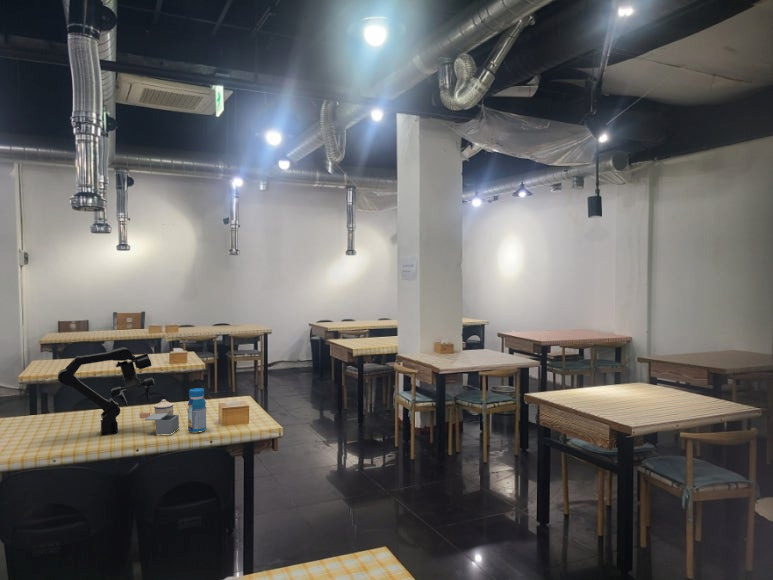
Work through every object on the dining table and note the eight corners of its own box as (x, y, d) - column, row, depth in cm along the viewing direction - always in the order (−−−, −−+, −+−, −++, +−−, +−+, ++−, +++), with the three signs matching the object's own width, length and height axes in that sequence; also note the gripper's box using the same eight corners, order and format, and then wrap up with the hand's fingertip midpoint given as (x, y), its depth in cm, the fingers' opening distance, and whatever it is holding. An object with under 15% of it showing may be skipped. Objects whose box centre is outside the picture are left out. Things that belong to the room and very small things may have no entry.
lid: (135, 420, 241) (135, 415, 241) (145, 414, 251) (145, 409, 251) (159, 420, 241) (159, 415, 241) (168, 414, 251) (168, 409, 251)
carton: (155, 435, 241) (155, 420, 241) (164, 429, 251) (164, 414, 251) (171, 435, 241) (170, 420, 241) (178, 429, 251) (178, 414, 251)
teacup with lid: (169, 425, 258) (169, 401, 258) (151, 425, 258) (150, 402, 257) (178, 418, 270) (178, 396, 270) (160, 418, 270) (160, 396, 269)
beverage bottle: (200, 434, 243) (199, 391, 243) (184, 433, 245) (183, 391, 244) (209, 429, 251) (209, 388, 251) (194, 428, 253) (193, 387, 253)
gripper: (106, 382, 239) (115, 414, 241) (149, 370, 246) (158, 401, 248) (108, 377, 249) (117, 407, 251) (149, 366, 256) (158, 395, 258)
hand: (137, 403), depth 252 cm, fingers open, 9 cm apart
